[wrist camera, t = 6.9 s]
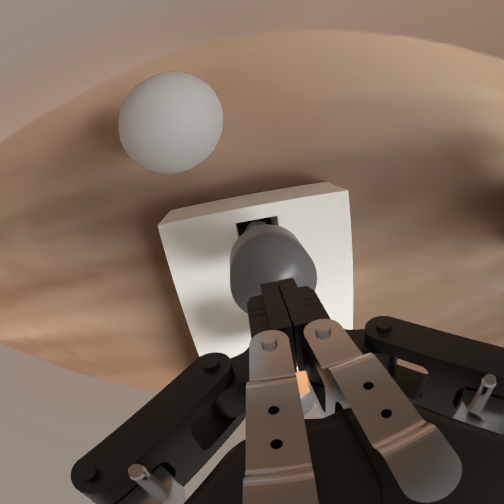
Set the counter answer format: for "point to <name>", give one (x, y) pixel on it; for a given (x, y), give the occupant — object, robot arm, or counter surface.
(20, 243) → the counter surface
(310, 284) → the charcoal knob
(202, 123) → the lightbulb
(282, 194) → the mounting board
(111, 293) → the counter surface
